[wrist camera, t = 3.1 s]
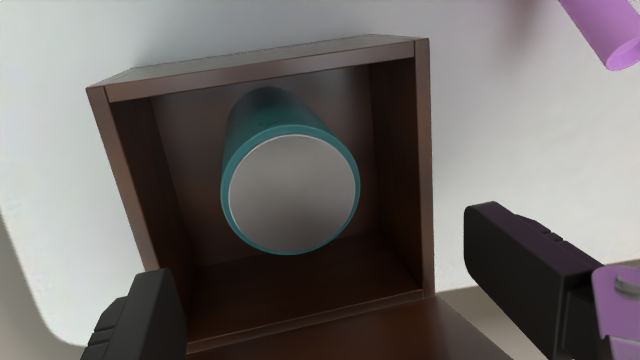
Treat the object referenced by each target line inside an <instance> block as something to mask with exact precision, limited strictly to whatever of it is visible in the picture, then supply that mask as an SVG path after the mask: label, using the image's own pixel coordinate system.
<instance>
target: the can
mask: <svg viewBox="0 0 640 360" xmlns="http://www.w3.org/2000/svg"><path fill="white" fill-rule="evenodd" d="M359 196H360V176H359V171H358V168H357V165H356V162H355V160H354V158H353V156H352V154H351V153H350V152H349V150H348V149H347V147H346V146H345V145H344V144H343V143H342V142H341V141H340V140H339V139H338V138H337V136H336V135H335V134H334V133H333V132H332V131H331V130H330V129H329V128H328V127H327V126H326V124H325V123H324V122H323V121H322V120H321V119H320V118H319V117H318V116H317V115H316V113H315V112H314V111H313V110H312V109H311V108H310V107H309V106H308V105H307V104H306V103H305V101H304V100H303V99H302V98H300V97H299V96H298V95H296V94H295V93H293V92H291V91H289V90H286V89H283V88H278V87H264V88H259V89H256V90H253V91H251V92H249V93H247V94H246V95H244V96H243V97H242V98H240V99H239V100H238V101H237V102H236V104H235V105H234V106H233V107H232V109H231V111H230V113H229V115H228V118H227V121H226V127H225V139H224V150H223V162H222V174H221V186H220V200H221V205H222V210H223V212H224V215H225V218H226V220H227V221H228V223H229V225H230V226H231V228H232V229H233V231H234V232H235V233H236V234H237V235H238V236H239V237H240V238H241V239H243V240H244V241H245V242H246V243H248V244H250V245H251V246H253V247H255V248H257V249H259V250H261V251H265V252H268V253H272V254H278V255H296V254H301V253H306V252H309V251H312V250H315V249H317V248H320V247H322V246H323V245H325V244H327V243H328V242H330V241H331V240H333V239H334V238H335V237H336V236H337V235H338V234H340V233H341V232H342V230H343V229H344V228H345V227H346V226H347V224H348V223H349V221H350V220H351V218H352V216H353V214H354V212H355V210H356V207H357V204H358V200H359Z"/></svg>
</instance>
